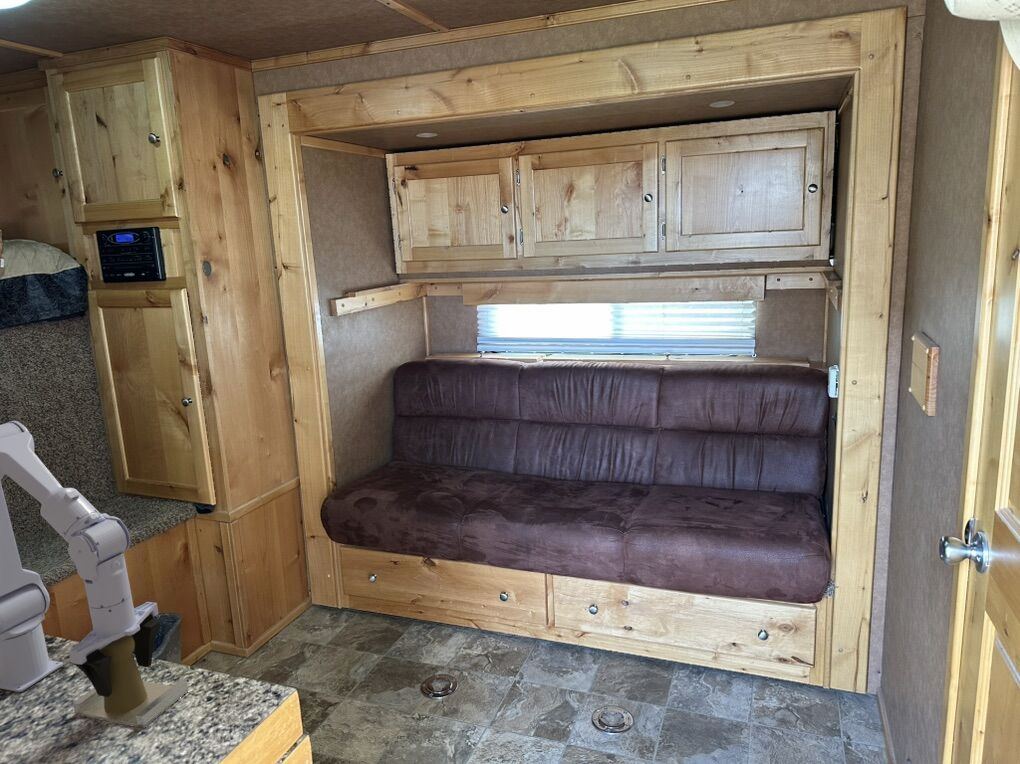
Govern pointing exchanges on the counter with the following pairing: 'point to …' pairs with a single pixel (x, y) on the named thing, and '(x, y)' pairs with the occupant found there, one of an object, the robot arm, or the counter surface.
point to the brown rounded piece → (123, 677)
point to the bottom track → (140, 716)
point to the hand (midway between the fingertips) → (125, 679)
